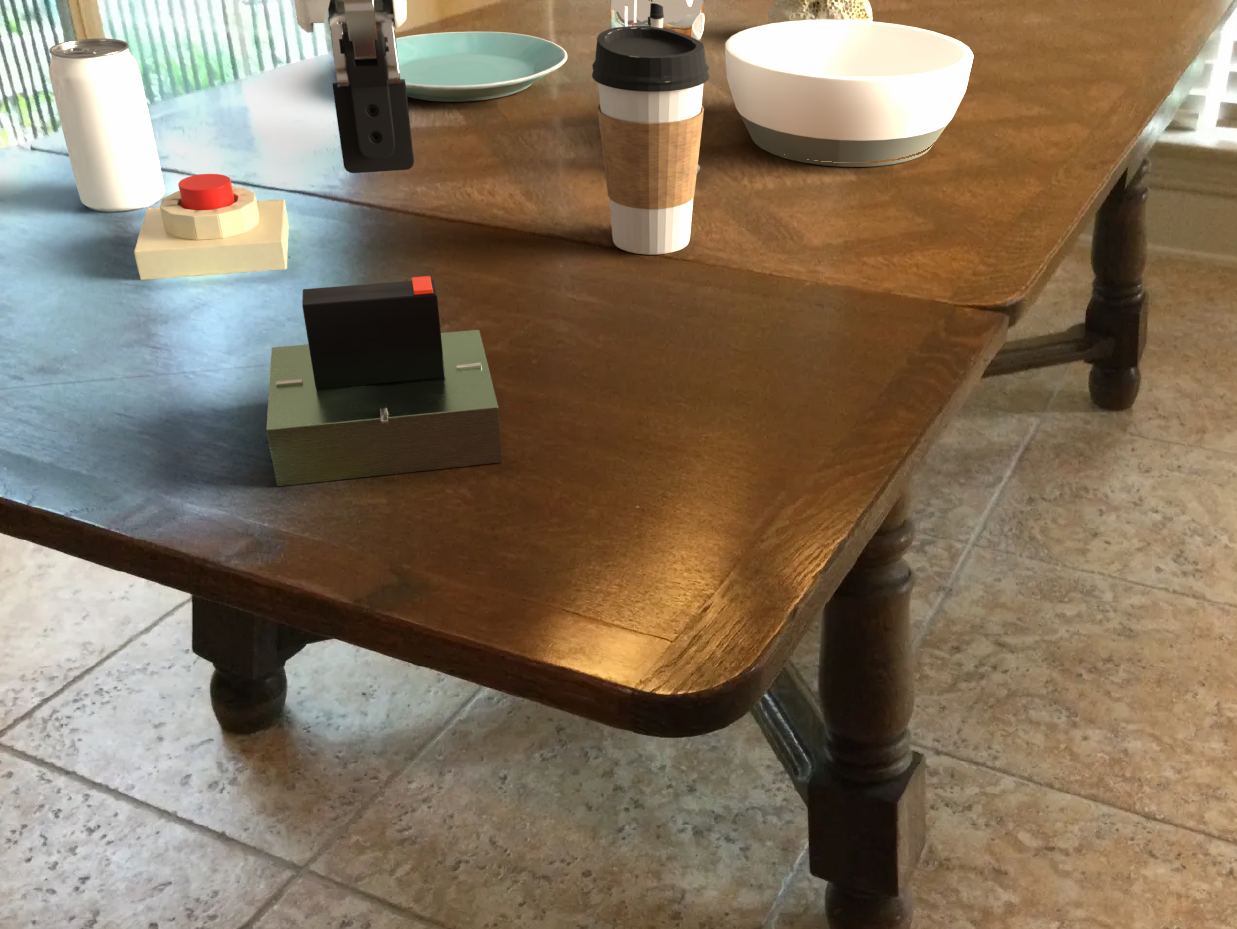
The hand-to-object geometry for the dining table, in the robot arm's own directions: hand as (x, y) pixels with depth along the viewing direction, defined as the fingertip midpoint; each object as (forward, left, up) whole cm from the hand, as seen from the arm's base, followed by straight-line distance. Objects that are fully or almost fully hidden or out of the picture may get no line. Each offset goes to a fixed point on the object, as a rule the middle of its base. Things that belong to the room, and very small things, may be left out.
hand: (376, 138), depth 65 cm
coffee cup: (+20, +27, -17) cm, 38 cm away
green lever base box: (-1, +1, -17) cm, 17 cm away
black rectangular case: (-1, +1, -13) cm, 14 cm away
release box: (-12, +31, -17) cm, 37 cm away
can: (-20, +44, -17) cm, 51 cm away
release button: (-12, +31, -13) cm, 36 cm away
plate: (+10, +75, -17) cm, 78 cm away
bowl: (+43, +49, -17) cm, 67 cm away
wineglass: (+24, +43, -17) cm, 52 cm away
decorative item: (+53, +86, -17) cm, 102 cm away
